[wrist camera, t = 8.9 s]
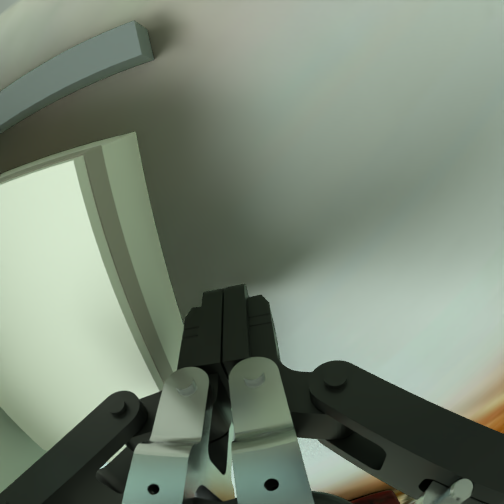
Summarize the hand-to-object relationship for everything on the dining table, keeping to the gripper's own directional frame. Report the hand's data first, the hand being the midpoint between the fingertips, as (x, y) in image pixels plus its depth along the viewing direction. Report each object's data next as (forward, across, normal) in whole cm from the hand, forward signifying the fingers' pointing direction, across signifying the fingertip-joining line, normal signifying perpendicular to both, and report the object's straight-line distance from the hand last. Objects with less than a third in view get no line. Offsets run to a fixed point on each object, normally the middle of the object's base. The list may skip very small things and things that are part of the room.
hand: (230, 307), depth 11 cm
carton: (+2, +7, 0) cm, 8 cm away
